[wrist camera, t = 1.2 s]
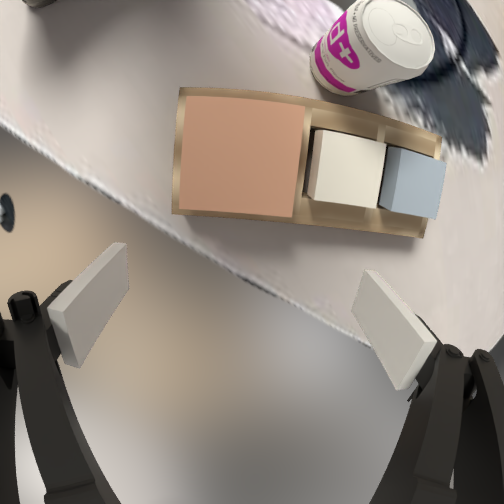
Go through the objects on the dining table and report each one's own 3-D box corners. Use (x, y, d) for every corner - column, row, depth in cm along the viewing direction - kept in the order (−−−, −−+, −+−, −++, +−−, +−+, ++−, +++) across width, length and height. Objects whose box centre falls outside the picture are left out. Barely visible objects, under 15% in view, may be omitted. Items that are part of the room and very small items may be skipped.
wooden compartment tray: (186, 93, 28) (179, 87, 25) (425, 135, 31) (442, 137, 27) (178, 205, 34) (171, 214, 30) (408, 228, 36) (423, 238, 32)
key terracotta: (194, 102, 26) (186, 95, 22) (295, 111, 27) (305, 106, 23) (187, 199, 30) (179, 208, 26) (284, 206, 31) (291, 217, 27)
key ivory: (311, 131, 28) (323, 129, 24) (368, 142, 29) (386, 144, 24) (303, 191, 31) (314, 199, 27) (359, 199, 31) (375, 208, 27)
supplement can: (309, 93, 29) (359, 63, 15) (306, 35, 26) (348, -21, 12) (370, 100, 29) (444, 87, 15) (366, 44, 26) (431, 7, 12)
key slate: (382, 146, 29) (401, 148, 25) (425, 158, 29) (446, 163, 25) (373, 201, 31) (391, 211, 27) (416, 209, 32) (435, 219, 28)
